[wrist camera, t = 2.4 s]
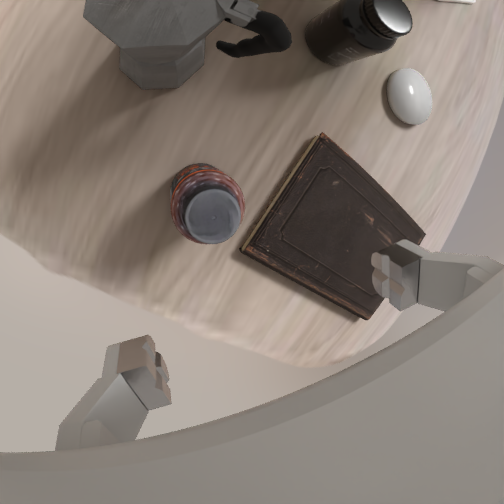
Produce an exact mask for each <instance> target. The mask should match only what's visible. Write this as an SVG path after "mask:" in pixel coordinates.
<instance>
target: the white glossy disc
mask: <svg viewBox="0 0 504 504" xmlns="http://www.w3.org/2000/svg"><path fill="white" fill-rule="evenodd" d="M387 98H388V102H389V105H390V107H391V109H392V111H393V113H394V114H395V115H396V117H397V118H398V119H399V120H401V121H402V122H404V123H407V124H422V123H423V122H425V121H426V120H427V119H428V117H429V115H430V113H431V109H432V95H431V91H430V88H429V86H428V84H427V82H426V80H425V79H424V77H423V76H422V75H421V74H420V73H419V72H417V71H416V70H414V69H410V68H405V69H399V70H396V71H394V72H393V73H392V74H391V76H390V77H389V79H388V83H387Z"/></svg>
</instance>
